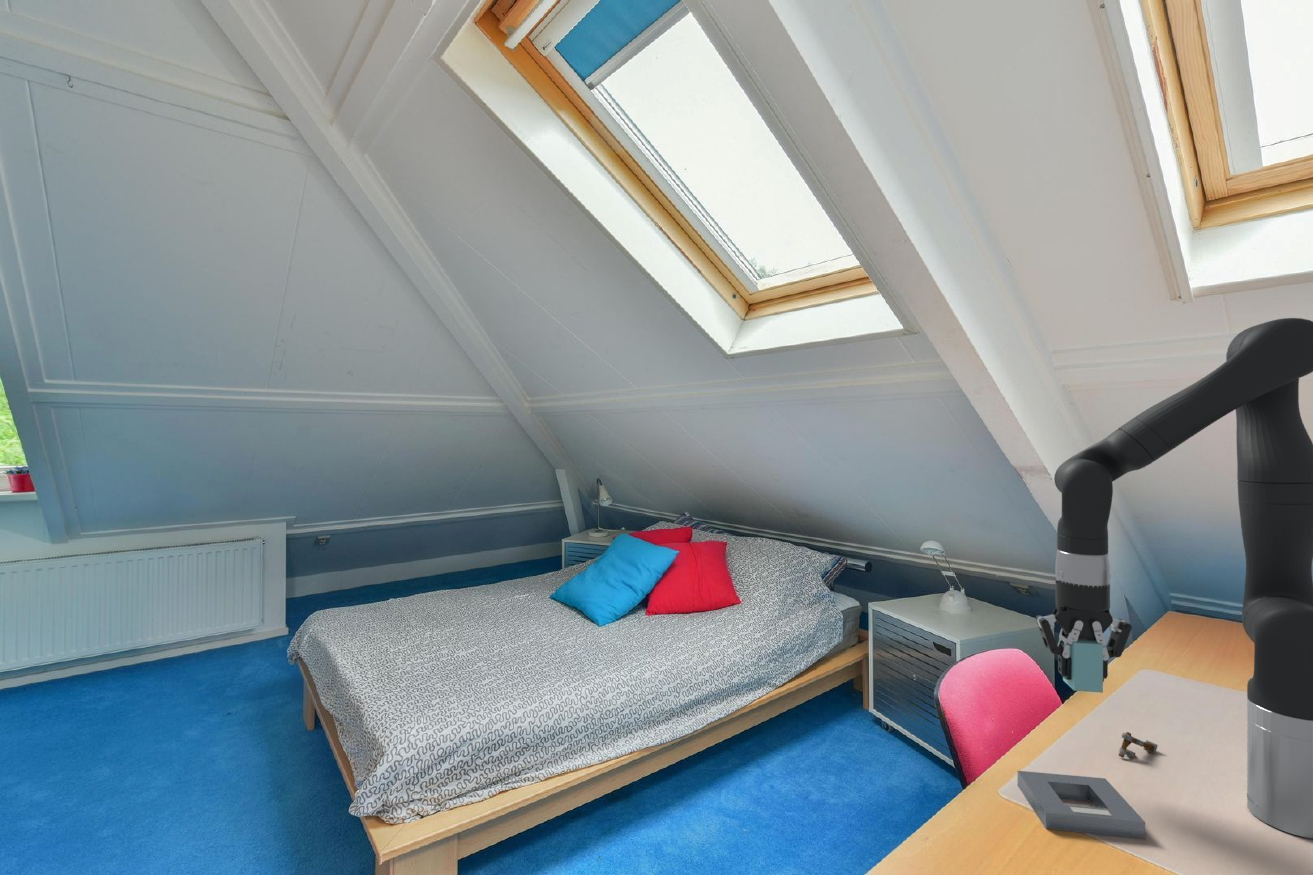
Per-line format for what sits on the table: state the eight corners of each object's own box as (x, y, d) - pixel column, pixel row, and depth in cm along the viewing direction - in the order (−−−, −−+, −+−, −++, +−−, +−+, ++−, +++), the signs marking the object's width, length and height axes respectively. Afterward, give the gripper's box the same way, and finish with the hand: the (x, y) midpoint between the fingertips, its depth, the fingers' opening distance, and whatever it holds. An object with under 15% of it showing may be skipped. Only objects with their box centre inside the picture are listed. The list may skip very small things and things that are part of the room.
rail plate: (1105, 793, 98) (1105, 777, 98) (1145, 838, 87) (1145, 821, 87) (1017, 785, 101) (1017, 769, 101) (1045, 828, 90) (1045, 811, 90)
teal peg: (1090, 681, 103) (1090, 635, 103) (1102, 692, 99) (1102, 644, 99) (1062, 680, 104) (1062, 634, 104) (1074, 690, 100) (1074, 642, 100)
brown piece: (1111, 752, 109) (1118, 728, 109) (1140, 762, 111) (1147, 738, 112) (1122, 757, 107) (1129, 732, 108) (1151, 768, 109) (1158, 743, 110)
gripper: (1118, 574, 103) (1118, 673, 104) (1026, 571, 106) (1026, 667, 107) (1143, 585, 96) (1143, 692, 96) (1044, 582, 99) (1044, 685, 100)
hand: (1082, 678), depth 102 cm, fingers closed on teal peg, 4 cm apart
